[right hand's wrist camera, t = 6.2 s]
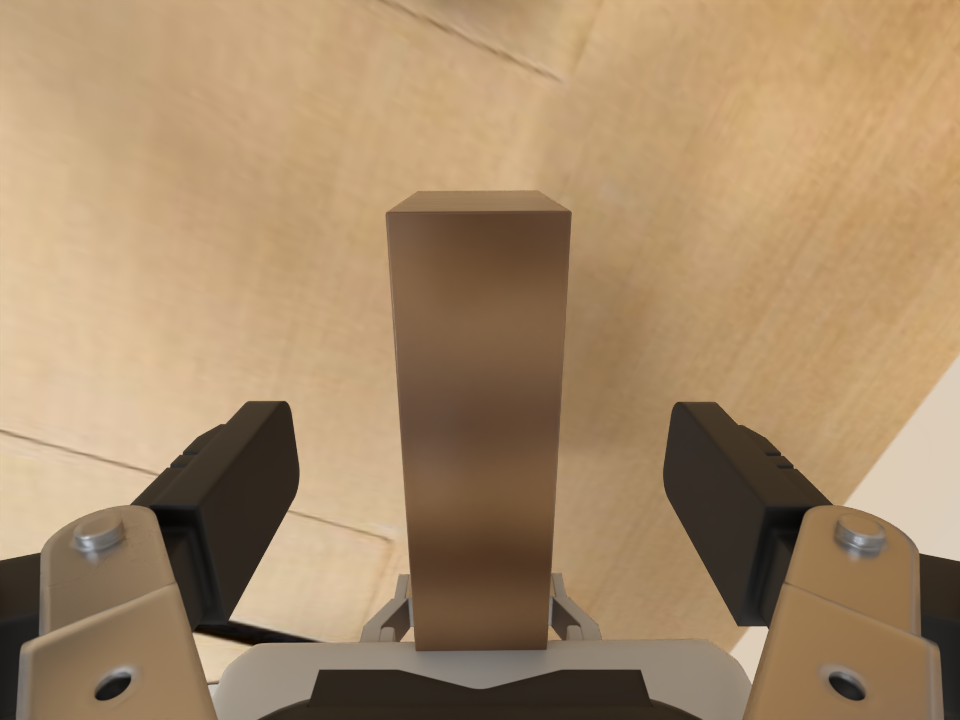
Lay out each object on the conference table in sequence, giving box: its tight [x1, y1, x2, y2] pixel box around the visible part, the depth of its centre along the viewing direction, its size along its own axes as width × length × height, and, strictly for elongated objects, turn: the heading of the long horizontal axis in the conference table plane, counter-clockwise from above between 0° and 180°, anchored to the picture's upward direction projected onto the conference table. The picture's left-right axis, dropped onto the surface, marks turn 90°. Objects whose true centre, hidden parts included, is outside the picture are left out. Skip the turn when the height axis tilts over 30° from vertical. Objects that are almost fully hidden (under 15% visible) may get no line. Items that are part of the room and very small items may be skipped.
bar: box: [386, 191, 572, 651], centre depth 23 cm, size 23×5×8 cm, turn 0°
